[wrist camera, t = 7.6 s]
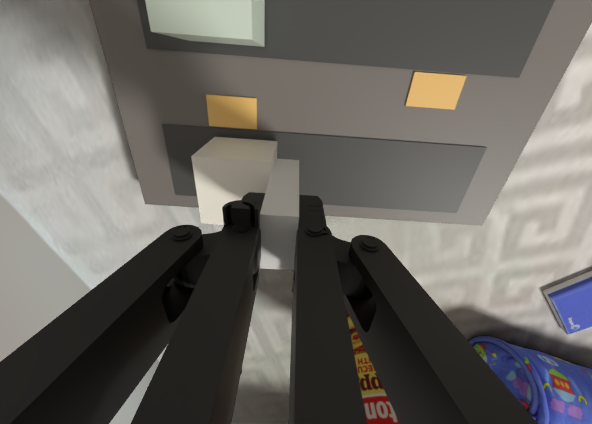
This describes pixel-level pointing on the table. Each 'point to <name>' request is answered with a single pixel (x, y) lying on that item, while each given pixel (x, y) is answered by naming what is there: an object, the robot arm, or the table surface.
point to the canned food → (371, 385)
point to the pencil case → (540, 381)
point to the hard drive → (572, 303)
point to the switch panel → (350, 97)
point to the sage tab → (209, 20)
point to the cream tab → (230, 173)
